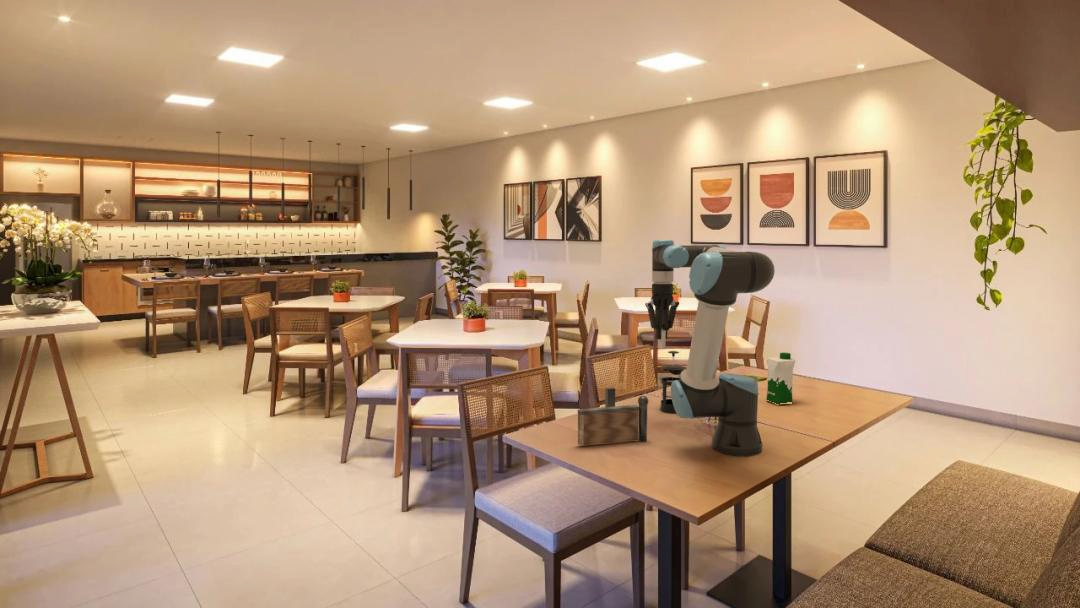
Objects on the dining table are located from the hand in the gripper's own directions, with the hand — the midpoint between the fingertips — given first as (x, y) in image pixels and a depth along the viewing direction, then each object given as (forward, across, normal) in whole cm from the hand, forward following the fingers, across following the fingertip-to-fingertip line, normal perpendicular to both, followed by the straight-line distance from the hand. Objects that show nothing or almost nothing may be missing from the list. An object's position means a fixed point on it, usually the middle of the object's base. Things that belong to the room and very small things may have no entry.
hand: (661, 348), depth 225 cm
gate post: (+26, +18, +19) cm, 37 cm away
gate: (+26, +30, +18) cm, 43 cm away
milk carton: (+27, -56, -3) cm, 62 cm away
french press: (+27, -11, -9) cm, 30 cm away
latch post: (+26, +18, -5) cm, 32 cm away
